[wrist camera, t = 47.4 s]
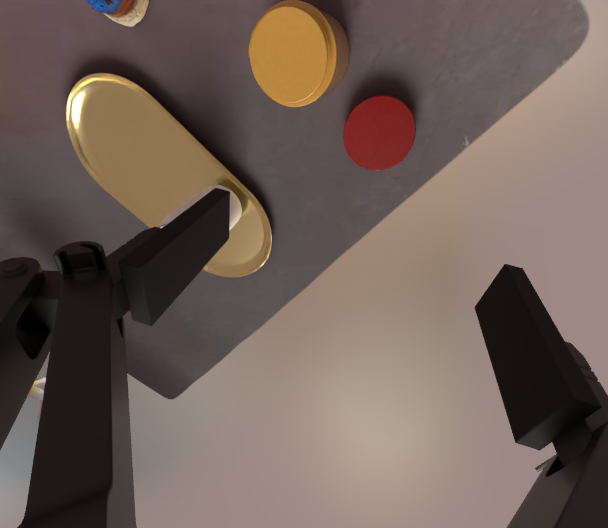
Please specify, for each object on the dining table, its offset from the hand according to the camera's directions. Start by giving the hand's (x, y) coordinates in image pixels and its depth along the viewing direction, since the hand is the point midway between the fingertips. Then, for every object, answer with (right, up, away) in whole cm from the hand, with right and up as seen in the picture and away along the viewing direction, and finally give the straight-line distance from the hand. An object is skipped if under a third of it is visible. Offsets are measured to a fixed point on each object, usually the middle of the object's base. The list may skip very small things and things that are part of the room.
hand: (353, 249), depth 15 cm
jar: (-1, +22, +19) cm, 29 cm away
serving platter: (-22, +11, +32) cm, 41 cm away
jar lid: (+6, +14, +20) cm, 25 cm away
